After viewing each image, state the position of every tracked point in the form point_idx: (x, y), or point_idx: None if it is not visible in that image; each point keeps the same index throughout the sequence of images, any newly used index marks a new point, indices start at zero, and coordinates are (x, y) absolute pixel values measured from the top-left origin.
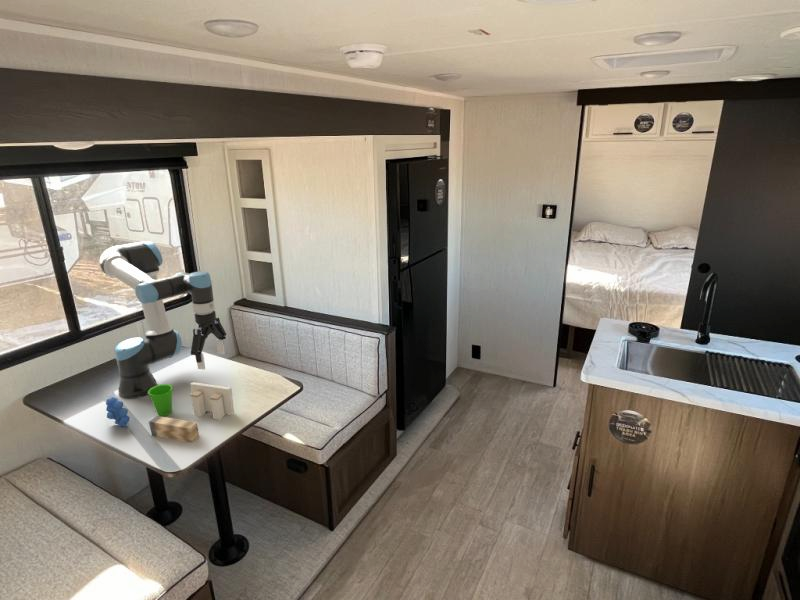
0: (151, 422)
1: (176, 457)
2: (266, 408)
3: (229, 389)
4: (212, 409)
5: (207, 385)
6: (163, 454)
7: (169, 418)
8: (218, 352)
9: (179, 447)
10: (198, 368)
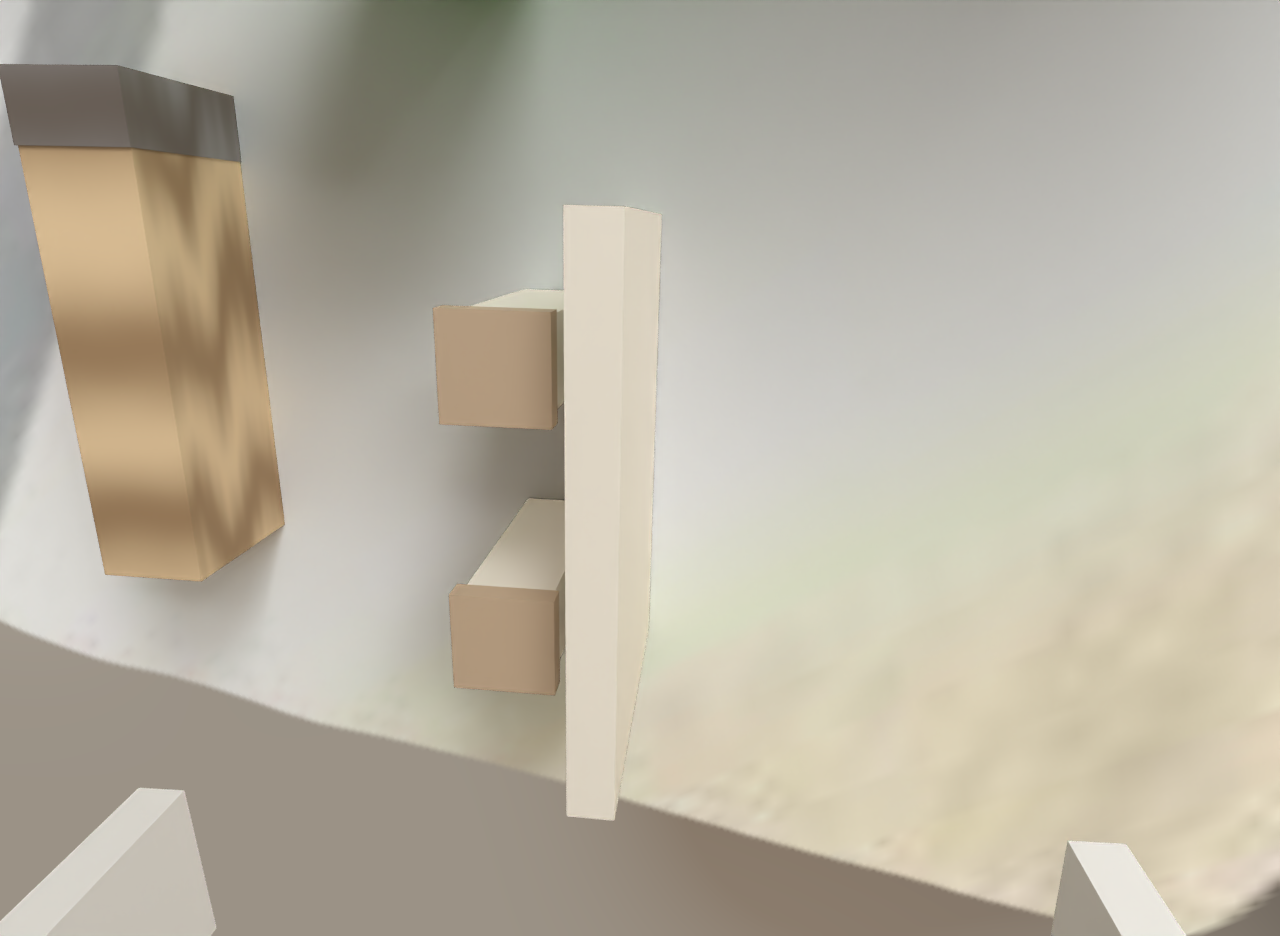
0: (13, 104)
1: (28, 514)
2: (778, 831)
3: (577, 812)
4: (502, 537)
5: (587, 504)
6: (7, 398)
7: (141, 261)
8: (1093, 902)
9: None
10: (127, 813)
